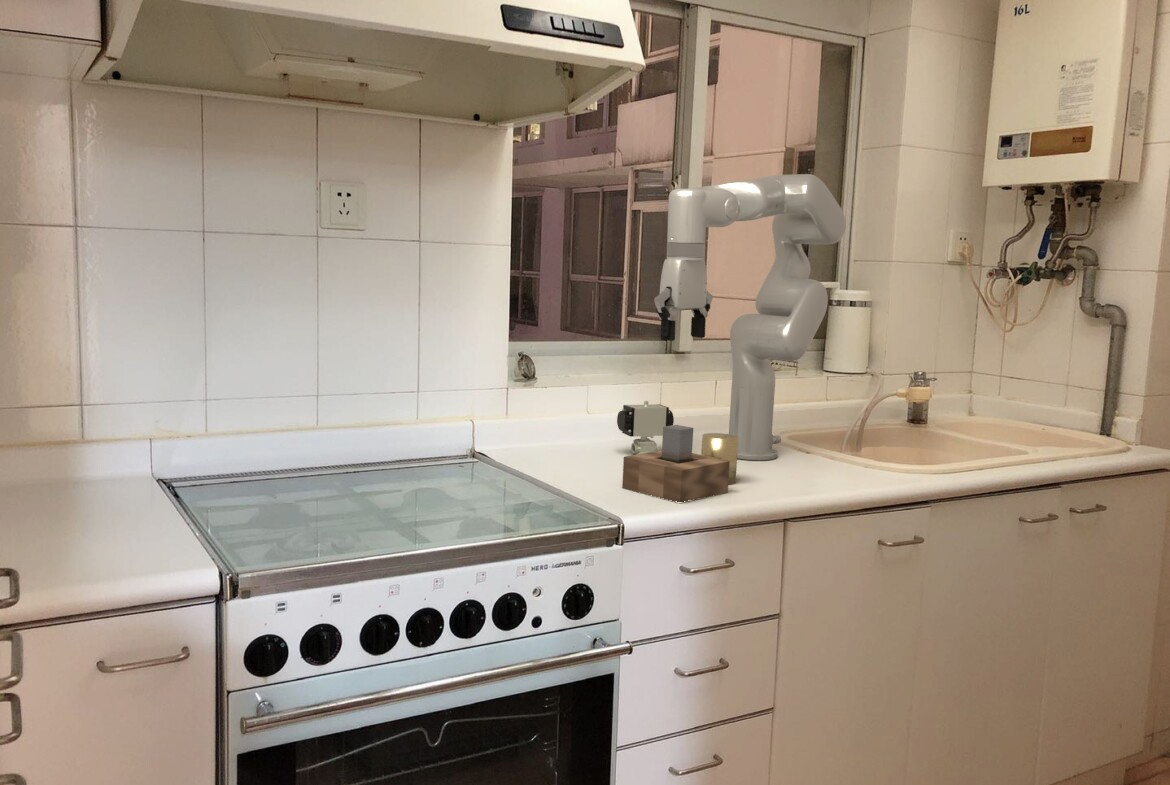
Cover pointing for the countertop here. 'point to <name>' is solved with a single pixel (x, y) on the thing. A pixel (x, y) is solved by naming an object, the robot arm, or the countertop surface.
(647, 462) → the bore block
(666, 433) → the square bit
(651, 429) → the pneumatic valve
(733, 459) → the round bit
